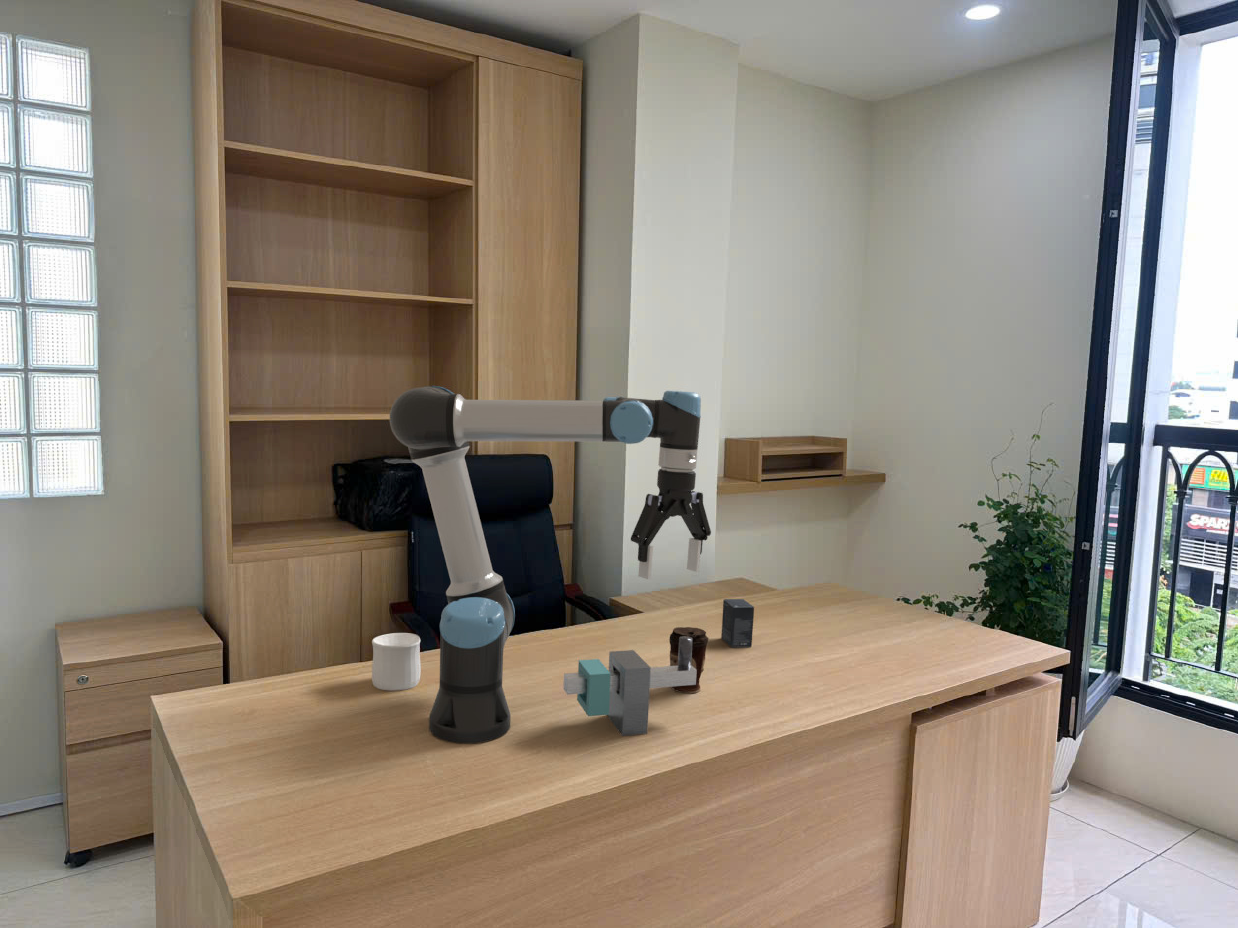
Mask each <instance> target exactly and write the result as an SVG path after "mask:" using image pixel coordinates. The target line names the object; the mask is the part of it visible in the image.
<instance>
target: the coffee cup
mask: <svg viewBox="0 0 1238 928" xmlns="http://www.w3.org/2000/svg"><path fill="white" fill-rule="evenodd" d="M682 636H688V637H691V638H693V641H692V659H691V665H692V666H693V667H694V668H695V669H696V670H697V674H696V685H685V686H673V687H671V689H672V690H674V691H676V692H680V693H689V694H692V693H698V692H700V691H701V685H700V678H701V677H702V676H701V675H702V673H703V671H705V670H704V669H705V668H704V667H705V664H706V663H705V662H706V651H707V647H708V643H709V637H708V636H707V631H705V629H702V628H699V627H690V626H686V627H683V626H682V627H674V628H673V629H672V632H671V633H670V635H669V639H668V640H669V649H670V651H669V666H678V653H679V637H682Z"/></svg>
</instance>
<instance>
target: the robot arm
mask: <svg viewBox="0 0 1238 928" xmlns="http://www.w3.org/2000/svg"><path fill="white" fill-rule="evenodd" d="M701 399H702V398H701V395H699V393H697V392H694V391H681V390H680V391H679V390H676V391H675V390H666V391H664V392H663V397H662V398H661V399H654V400H653V399H647V398H645V399H644V398H632V397H622V396H616V397H615V396H607V397H604V398H603V399H602V400H581V399H580V400H576V399H575V400H568V399H567V400H566V399H565V400H563V399H561V400H557V399H556V400H555V399H554V400H551V399H550V400H547V399H546V400H545V399H466V398H464V397H463V395H462V394H460V393H454V392H452V390H449V389H447V388H446V387H442V386H438V385H430V386H423V387H414V388H412V389H408V390H406V391H404V392H402V393H401V394H400V395H399V396H398V397H397V398H396V399H395V400H394V401H393V403H392V405H391V408H390V411H389V426H390V429H391V432H392V434H393V436H395V438H396V439H397V441H399V442H400V443H401V444H402V445H404V446H405V447H408V452H409V456H410V461H412V463H414V464H416V465H418V466H419V467H420V469H422V474H423V478H424V483H425V486H426V489H427V493H428V498H429V501H430V504H431V509H432V513H433V517H434V521H435V525H436V528H437V533H438V537H439V541H440V545H441V547H442V548H441V549H442V552H443V555H444V560H445V563H446V569H447V572H448V576H449V579H450V584H449V586H448V588H447V589H446V591H445V595H446V599H447V602H448V604H446V606H445V607H444V608H443V610H442V612H441V615H440V617H441V618H440V622H439V632H440V642H439V643H440V644H439V645H440V646H439V648H440V649H439V685H438V690H437V693H436V696H435V699H434V702H433V705H432V708H431V711H430V713H429V715H428V716H429V717H428V730H429V732H430V734H431V735H432V736H434V737H435V738H437V739H439V740H442V741H445V742H449V743H453V744H454V743H456V744H477V743H484V742H489V741H493V740H496V739H498V738H501V737H503V736H504V735H505V734H507V733H508V732H509V731H510V728H511V711H510V709H509V705H508V702H507V698H506V696H505V692H504V688H503V674H504V672H503V669H504V668H503V667H504V666H503V665H504V649H505V645H506V642H507V641H508V638H509V636H510V633H511V632H512V630H513V627H514V625H515V617H516V614H515V613H516V612H515V606H514V602H513V600H512V598H511V597H510V595H509V594H508V593H507V590H506V587H505V583H504V579H503V576H501V575H500V574H498V573H496V572H495V571H494V570H493V566H492V562H491V558H490V554H489V551H488V547H487V543H486V542H487V541H486V539H485V535H484V530H483V527H482V521H481V519H480V514H479V510H478V506H477V502H476V499H475V495H474V490H473V487H472V483H471V479H470V476H469V475H470V474H469V471H468V467H467V462H466V459H465V456H466V454H467V453H468V451H469V449H470V443H469V442H609V443H617V442H618V443H624V444H627V445H633V444H639V443H641V442H643V441H645V440H646V438H654V439H659V440H660V442H659V454H658V455H659V457H658V466H659V470H657V479H656V480H657V481H656V482H657V483H656V486H657V488H658V489H659V492H658V495H656V494H652V493H651V494H650V493H647V494H646V496H645V501H644V502H645V503H644V505H643V509H642V511H641V513H640V516H639V517H638V520H637V522H636V525H635V527H634V529H633V531H632V534H631V537H630V541H631V542H632V543H633V542H634V543H635V544H637V545H638V550H637V553H638V554H637V561H639V563H638V577H639V578H642V579H645V580H651V578H652V565H653V553H654V551H653V550H654V545H651V543H652V542H653V540H654V539H655V538H656V535H657V534H658V533H659V531H660V530H661V528H662V526H663V524H665V522H666V521H667V520H669V519H670V518H673V517H676V516H678V517H681V519H682V520H683V523H684V524H685V525H686V527H687V530H688V531H689V532H690V534H691V536H692V537H690V538H688V539H689V540H688V550H687V562H686V570H689V571H692V572H695V573H697V572H700V562H701V559H700V558H701V555H702V553H703V543H704V542H703V541H707V540H708V537H710V536H711V534H712V530H711V528H710V524H709V520H708V517H707V512H706V509H705V505H704V494H703V492H700V491H694V490H695V487H696V475H697V474H696V472H695V471H694V470H695V469H697V461H698V448H699V447H698V446H699V438H700V437H699V436H700V428H701V427H700V425H701V424H700V423H701V407H702V405H701V402H702V400H701Z"/></svg>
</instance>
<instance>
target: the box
mask: <svg viewBox="0 0 1238 928" xmlns="http://www.w3.org/2000/svg"><path fill="white" fill-rule="evenodd" d="M754 614H755V606H754V605H752V604H751V603H749V602H748V601H747V600H745V599H744V598H724V599H723V603H722V623H721V635H720V636H721V637H720V638H721V639H722V640H723V641H724V642H725V643H726V644H727V645H728V646H730V647H731V648H752V645H753V632H754V631H753V629H754V617H755V616H754Z"/></svg>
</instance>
